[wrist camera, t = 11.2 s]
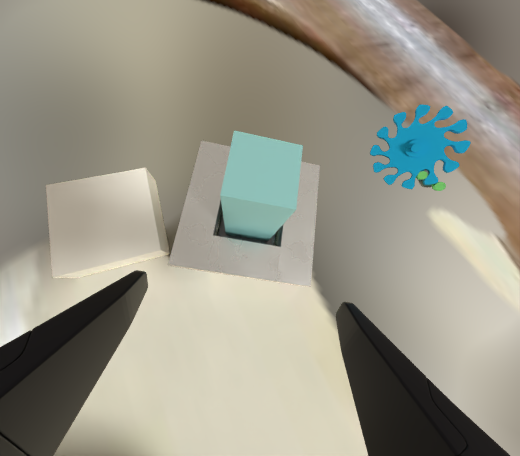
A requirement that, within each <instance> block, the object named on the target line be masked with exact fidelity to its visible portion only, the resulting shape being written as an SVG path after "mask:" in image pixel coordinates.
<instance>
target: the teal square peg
mask: <svg viewBox="0 0 520 456" xmlns="http://www.w3.org/2000/svg"><path fill="white" fill-rule="evenodd" d="M302 148H303V145H298V144H293V143H289V142H284V141H280V140H275V139H271V138H266V137H261V136H257V135H252V134H247V133H243V132H238V131H234V134H233V139H232V143H231V148H230V152H229V157H228V162H227V166H226V171H225V175H224V180H223V185H222V189H221V194H220V197H221V204H222V211H223V218H224V225H225V232H226V234H229V235H235V236H240V237H246V238H252V239H258V240H264V241H269V239H270V238H271V237H272V236H273V235H274V234H275V233H276V232H277V231H278V229H279V228H280V227H281V226H282V225H283V224H284V223H285V222H286V221H287V219H288V218H289V217H290V216H291V215H292V214H293V213H294V212H295V210H296V207H297V197H298V188H299V178H300V168H301V158H302Z"/></svg>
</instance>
